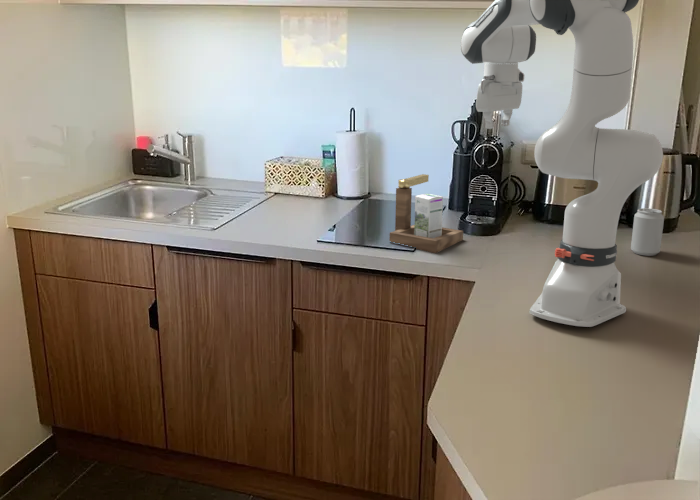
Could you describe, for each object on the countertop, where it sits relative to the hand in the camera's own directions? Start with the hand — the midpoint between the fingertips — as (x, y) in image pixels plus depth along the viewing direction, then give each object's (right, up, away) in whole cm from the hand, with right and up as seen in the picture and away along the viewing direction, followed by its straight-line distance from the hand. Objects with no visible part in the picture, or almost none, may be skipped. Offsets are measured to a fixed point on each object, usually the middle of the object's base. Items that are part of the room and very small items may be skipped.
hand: (497, 127), depth 195 cm
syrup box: (-18, -33, +7) cm, 38 cm away
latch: (-22, -14, +13) cm, 29 cm away
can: (+41, -34, +1) cm, 53 cm away
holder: (-19, -32, +8) cm, 38 cm away
